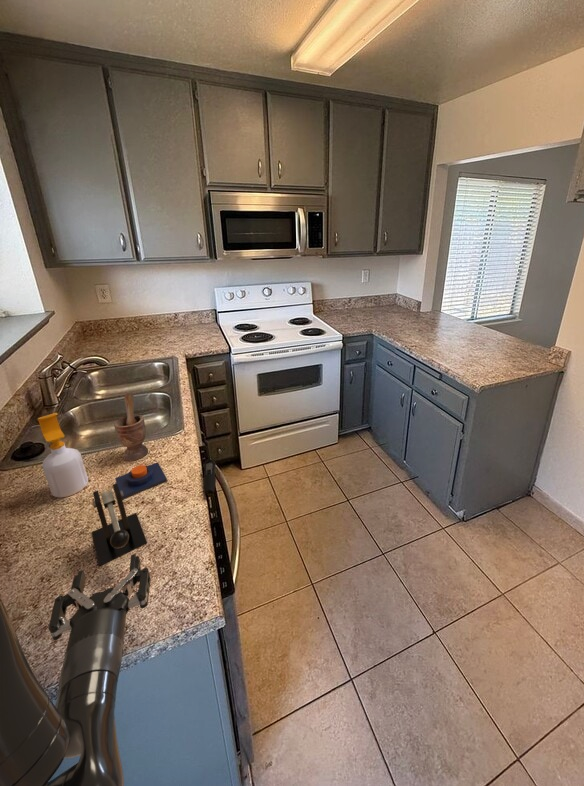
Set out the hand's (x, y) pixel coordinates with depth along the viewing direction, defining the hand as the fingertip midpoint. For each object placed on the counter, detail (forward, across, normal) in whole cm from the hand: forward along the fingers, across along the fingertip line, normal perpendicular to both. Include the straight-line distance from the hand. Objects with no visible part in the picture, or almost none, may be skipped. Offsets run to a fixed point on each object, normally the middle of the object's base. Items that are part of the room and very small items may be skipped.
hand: (108, 565), depth 67 cm
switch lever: (+15, +1, +3) cm, 16 cm away
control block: (+40, -2, +12) cm, 42 cm away
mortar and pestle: (+59, +1, +13) cm, 60 cm away
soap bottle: (+47, +18, +13) cm, 52 cm away
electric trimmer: (+33, -21, +12) cm, 41 cm away
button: (+40, -2, +9) cm, 41 cm away
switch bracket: (+19, +2, +12) cm, 23 cm away
